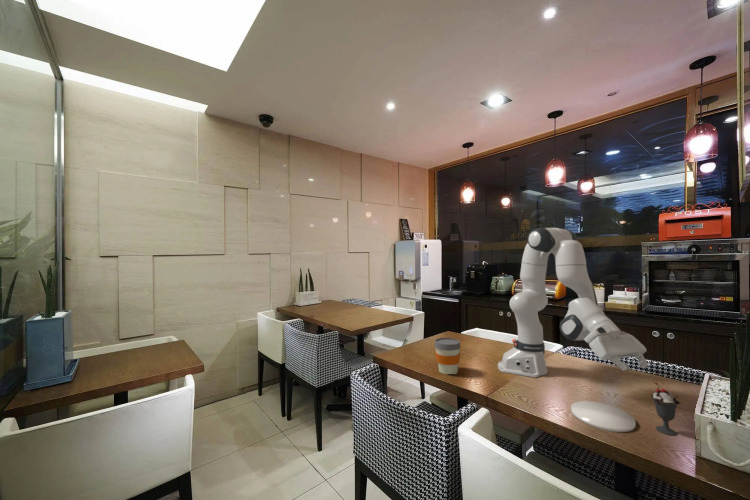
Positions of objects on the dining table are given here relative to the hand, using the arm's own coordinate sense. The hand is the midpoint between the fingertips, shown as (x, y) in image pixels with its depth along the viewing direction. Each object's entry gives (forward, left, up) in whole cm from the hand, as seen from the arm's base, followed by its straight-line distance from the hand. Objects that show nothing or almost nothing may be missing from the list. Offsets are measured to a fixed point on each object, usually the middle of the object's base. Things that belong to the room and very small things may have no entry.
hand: (636, 368), depth 104 cm
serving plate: (-11, -2, -17) cm, 21 cm away
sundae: (+5, -6, -18) cm, 19 cm away
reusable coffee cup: (-66, +26, -18) cm, 73 cm away
